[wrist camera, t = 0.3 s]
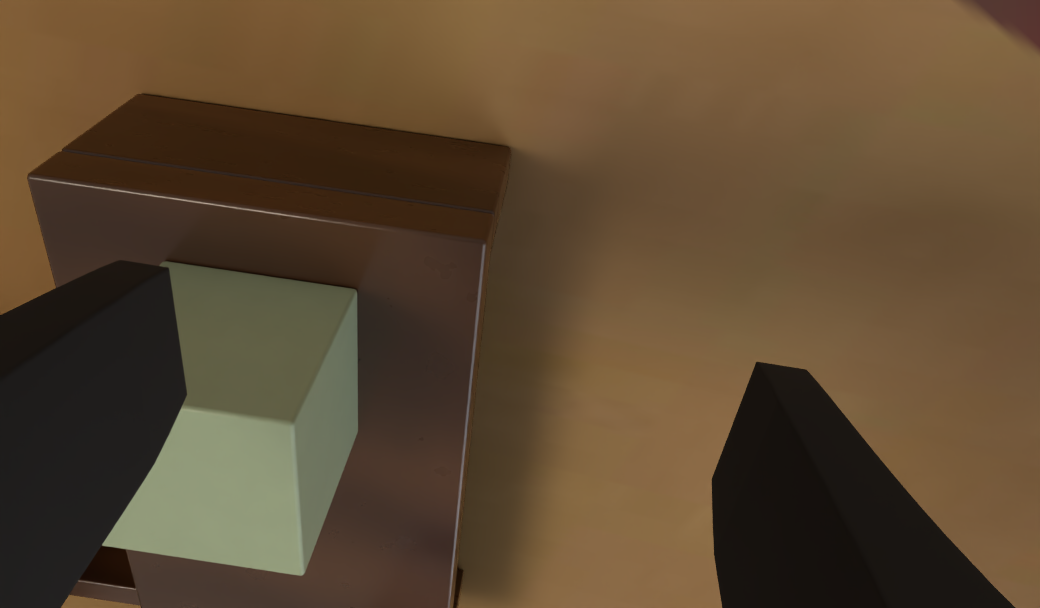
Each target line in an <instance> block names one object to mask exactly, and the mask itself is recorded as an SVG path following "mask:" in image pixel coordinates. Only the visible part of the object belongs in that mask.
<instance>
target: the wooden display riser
mask: <svg viewBox="0 0 1040 608" xmlns="http://www.w3.org/2000/svg"><path fill="white" fill-rule="evenodd" d="M510 158H511V148H509V147H504V146H497V145H490V144H483V143H477V142H470V141H463V140H456V139H449V138H442V137H435V136H428V135H421V134H414V133H407V132H400V131H393V130H386V129H379V128H372V127H365V126H358V125H351V124H344V123H338V122H331V121H324V120H317V119H310V118H303V117H296V116H289V115H282V114H275V113H268V112H261V111H254V110H247V109H240V108H233V107H226V106H219V105H212V104H205V103H198V102H192V101H185V100H178V99H171V98H164V97H157V96H150V95H143V94H137V95H136V96H134V97H133V98H132V99H130V100H129V101H127V102H126V103H125V104H123V105H122V106H120V107H119V108H118V109H116V110H115V111H114V112H112V113H111V114H109V115H108V116H107V117H105V118H104V119H103V120H101V121H100V122H98V123H97V124H96V125H94V126H93V127H91V128H90V129H89V130H87V131H86V132H85V133H83V134H82V135H80V136H79V137H78V138H76V139H75V140H74V141H72V142H71V143H69V144H68V145H67V146H65V147H64V148H63V149H62V151H61V152H58V153H56V154H55V155H53V156H52V157H51V158H49V159H48V160H46V161H45V162H44V163H42V164H41V165H40V166H38V167H37V168H35V169H34V170H33V171H31V172H30V173H29V174H28V176H27V179H28V183H29V187H30V191H31V194H32V198H33V202H34V206H35V210H36V213H37V217H38V221H39V225H40V228H41V232H42V236H43V240H44V244H45V247H46V251H47V255H48V259H49V262H50V266H51V270H52V274H53V277H54V281H55V285H56V288H58V287H60V286H62V285H64V284H66V283H68V282H70V281H72V280H74V279H76V278H78V277H81V276H83V275H85V274H87V273H89V272H91V271H94V270H96V269H98V268H100V267H103V266H105V265H108V264H110V263H113V262H115V261H118V260H125V261H131V262H137V263H144V264H150V265H156V266H160V264H161V263H162V262H165V261H168V262H175V263H182V264H189V265H196V266H202V267H209V268H216V269H223V270H230V271H236V272H243V273H250V274H257V275H264V276H270V277H277V278H284V279H291V280H298V281H304V282H311V283H318V284H325V285H332V286H338V287H345V288H352V289H355V290H356V291H357V347H358V433H357V435H356V438H355V441H354V443H353V446H352V449H351V451H350V454H349V457H348V459H347V462H346V465H345V467H344V470H343V473H342V475H341V478H340V481H339V483H338V486H337V489H336V491H335V494H334V497H333V499H332V502H331V505H330V507H329V510H328V513H327V515H326V518H325V521H324V523H323V526H322V529H321V531H320V534H319V537H318V539H317V542H316V545H315V547H314V550H313V553H312V555H311V558H310V561H309V563H308V566H307V569H306V571H305V573H304V574H303V575H301V576H299V575H292V574H286V573H279V572H273V571H266V570H259V569H253V568H246V567H240V566H233V565H227V564H220V563H214V562H207V561H200V560H194V559H187V558H181V557H174V556H168V555H161V554H154V553H148V552H141V551H135V550H128V549H122V548H115V547H109V546H101V547H100V549H99V550H98V552H97V553H96V555H95V556H94V558H93V559H92V561H91V562H90V564H89V565H88V567H87V568H86V570H85V571H84V573H83V574H82V576H81V577H80V579H79V580H78V582H77V583H76V585H75V586H74V588H73V590H72V591H71V593H70V594H69V595H74V596H81V597H87V598H94V599H101V600H107V601H114V602H120V603H127V604H133V605H140V606H141V608H458V606H459V600H460V595H461V589H462V582H463V573H464V572H463V570H459V569H457V565H458V556H459V546H460V537H461V528H462V518H463V509H464V499H465V490H466V480H467V471H468V461H469V452H470V442H471V433H472V423H473V414H474V404H475V395H476V386H477V376H478V367H479V357H480V348H481V338H482V329H483V319H484V310H485V300H486V291H487V281H488V272H489V262H490V253H491V249H492V245H493V241H494V237H495V233H496V228H497V224H498V220H499V216H500V212H501V208H502V204H503V200H504V196H505V192H506V188H507V183H508V176H509V167H510Z"/></svg>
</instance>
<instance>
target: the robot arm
mask: <svg viewBox="0 0 1040 608" xmlns="http://www.w3.org/2000/svg"><path fill="white" fill-rule="evenodd" d="M186 396H187V389H186V382H185V375H184V368H183V361H182V355H181V348H180V341H179V334H178V327H177V320H176V313H175V306H174V299H173V292H172V285H171V278H170V271H169V267H162V266H156V265H150V264H144V263H137V262H131V261H125V260H118V261H115V262H113V263H110V264H108V265H105V266H103V267H100V268H98V269H96V270H94V271H91V272H89V273H87V274H85V275H83V276H81V277H78V278H76V279H74V280H72V281H70V282H68V283H66V284H64V285H62V286H60V287H58V288H55V289H53V290H51V291H49V292H47V293H45V294H43V295H41V296H39V297H37V298H35V299H33V300H31V301H29V302H27V303H25V304H23V305H21V306H19V307H17V308H15V309H12V310H10V311H8V312H6V313H4V314H2V315H0V608H61V606H62V605H63V603H64V602H65V600H66V599H67V597H68V596H69V594H70V593H71V591H72V590H73V588H74V586H75V585H76V583H77V582H78V580H79V579H80V577H81V576H82V574H83V573H84V571H85V570H86V568H87V567H88V565H89V564H90V562H91V561H92V559H93V558H94V556H95V555H96V553H97V552H98V550H99V549H100V547H101V546H102V544H103V543H104V541H105V540H106V538H107V537H108V535H109V534H110V532H111V531H112V529H113V528H114V526H115V525H116V523H117V521H118V520H119V518H120V517H121V515H122V514H123V512H124V511H125V509H126V508H127V506H128V505H129V503H130V501H131V500H132V498H133V497H134V495H135V494H136V492H137V491H138V489H139V488H140V486H141V485H142V483H143V481H144V480H145V478H146V477H147V475H148V473H149V472H150V470H151V469H152V467H153V466H154V464H155V462H156V460H157V458H158V456H159V454H160V452H161V450H162V448H163V446H164V444H165V442H166V440H167V438H168V436H169V434H170V432H171V429H172V427H173V425H174V423H175V421H176V418H177V416H178V414H179V412H180V410H181V407H182V405H183V403H184V401H185V399H186ZM712 509H713V537H714V556H715V563H716V570H717V576H718V582H719V589H720V595H721V601H722V608H1015V607H1014V606H1013V605H1012V604H1011V603H1010V602H1009V601H1008V600H1007V599H1006V598H1005V597H1004V596H1003V595H1002V594H1001V593H1000V592H999V591H998V590H997V589H996V588H995V587H994V586H993V585H992V584H991V583H990V582H989V581H988V580H987V579H986V578H985V577H984V575H983V574H982V573H981V572H980V571H979V570H978V569H977V568H976V567H975V566H974V565H973V564H972V563H971V562H970V561H969V560H968V558H967V557H966V556H965V555H964V554H963V553H962V552H961V551H960V550H959V549H958V548H957V547H956V546H955V545H954V544H953V543H952V541H951V540H950V539H949V538H948V537H947V536H946V535H945V534H944V533H943V532H942V530H941V529H940V528H939V527H938V526H937V525H936V524H935V523H934V522H933V520H932V519H931V518H930V517H929V516H928V515H927V514H926V513H925V511H924V510H923V509H922V508H921V507H920V506H919V505H918V503H917V502H916V501H915V500H914V499H913V498H912V496H911V495H910V494H909V493H908V492H907V491H906V489H905V488H904V487H903V486H902V485H901V483H900V482H899V481H898V480H897V479H896V478H895V476H894V475H893V474H892V473H891V472H890V470H889V469H888V468H887V467H886V466H885V464H884V463H883V462H882V461H881V460H880V458H879V457H878V456H877V455H876V454H875V452H874V451H873V450H872V449H871V447H870V446H869V445H868V444H867V442H866V441H865V440H864V439H863V438H862V436H861V435H860V434H859V433H858V431H857V430H856V429H855V428H854V426H853V425H852V424H851V423H850V421H849V420H848V419H847V418H846V417H845V415H844V414H843V413H842V412H841V410H840V409H839V408H838V407H837V405H836V404H835V403H834V402H833V400H832V399H831V398H830V397H829V395H828V394H827V393H826V392H825V391H824V389H823V388H822V387H821V386H820V385H819V383H818V382H817V381H816V380H815V379H814V378H813V376H812V375H811V374H810V373H809V372H808V371H807V370H805V369H799V368H792V367H786V366H780V365H774V364H767V363H761V362H756V364H755V367H754V370H753V372H752V375H751V378H750V380H749V383H748V386H747V388H746V391H745V393H744V396H743V399H742V401H741V404H740V407H739V409H738V412H737V414H736V417H735V420H734V422H733V425H732V428H731V430H730V433H729V435H728V438H727V441H726V443H725V446H724V449H723V451H722V454H721V456H720V459H719V462H718V464H717V467H716V470H715V472H714V475H713V478H712Z"/></svg>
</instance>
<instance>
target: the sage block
mask: <svg viewBox="0 0 1040 608" xmlns="http://www.w3.org/2000/svg"><path fill="white" fill-rule="evenodd" d="M160 266H162V267H169V271H170V278H171V285H172V292H173V299H174V306H175V313H176V320H177V327H178V334H179V341H180V348H181V355H182V361H183V368H184V375H185V382H186V389H187V396H186V399H185V401H184V403H183V405H182V407H181V410H180V412H179V414H178V416H177V418H176V421H175V423H174V425H173V427H172V429H171V432H170V434H169V436H168V438H167V440H166V442H165V444H164V446H163V448H162V450H161V452H160V454H159V456H158V458H157V460H156V462H155V464H154V466H153V467H152V469H151V470H150V472H149V473H148V475H147V477H146V478H145V480H144V481H143V483H142V485H141V486H140V488H139V489H138V491H137V492H136V494H135V495H134V497H133V498H132V500H131V501H130V503H129V505H128V506H127V508H126V509H125V511H124V512H123V514H122V515H121V517H120V518H119V520H118V521H117V523H116V525H115V526H114V528H113V529H112V531H111V532H110V534H109V535H108V537H107V538H106V540H105V541H104V543H103V544H102V546H109V547H115V548H122V549H128V550H135V551H141V552H148V553H154V554H161V555H168V556H174V557H181V558H187V559H194V560H200V561H207V562H214V563H220V564H227V565H233V566H240V567H246V568H253V569H259V570H266V571H273V572H279V573H286V574H292V575H299V576H301V575H303V574H304V573H305V571H306V569H307V566H308V563H309V561H310V558H311V555H312V553H313V550H314V547H315V545H316V542H317V539H318V537H319V534H320V531H321V529H322V526H323V523H324V521H325V518H326V515H327V513H328V510H329V507H330V505H331V502H332V499H333V497H334V494H335V491H336V489H337V486H338V483H339V481H340V478H341V475H342V473H343V470H344V467H345V465H346V462H347V459H348V457H349V454H350V451H351V449H352V446H353V443H354V441H355V438H356V435H357V433H358V347H357V291H356V290H355V289H352V288H345V287H338V286H332V285H325V284H318V283H311V282H304V281H298V280H291V279H284V278H277V277H270V276H264V275H257V274H250V273H243V272H236V271H230V270H223V269H216V268H209V267H202V266H196V265H189V264H182V263H175V262H168V261H165V262H162V263H161V264H160Z"/></svg>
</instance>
